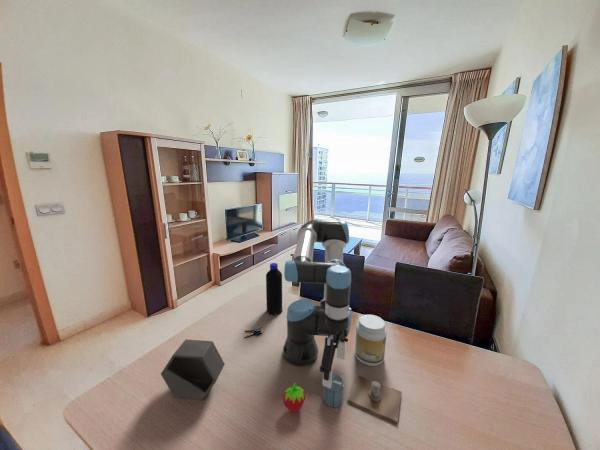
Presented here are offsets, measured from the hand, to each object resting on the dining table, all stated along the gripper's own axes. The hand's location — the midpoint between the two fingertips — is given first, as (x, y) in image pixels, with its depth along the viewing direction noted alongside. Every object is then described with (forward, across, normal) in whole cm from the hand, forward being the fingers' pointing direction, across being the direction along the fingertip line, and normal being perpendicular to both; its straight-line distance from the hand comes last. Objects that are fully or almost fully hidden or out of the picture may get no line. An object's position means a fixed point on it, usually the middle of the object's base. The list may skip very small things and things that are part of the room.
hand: (334, 371), depth 82 cm
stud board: (+12, +8, -13) cm, 19 cm away
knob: (+12, 0, 0) cm, 12 cm away
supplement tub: (+12, +26, -7) cm, 30 cm away
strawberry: (+12, -10, +10) cm, 18 cm away
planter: (+12, -20, +45) cm, 51 cm away
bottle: (+11, +36, +48) cm, 61 cm away
